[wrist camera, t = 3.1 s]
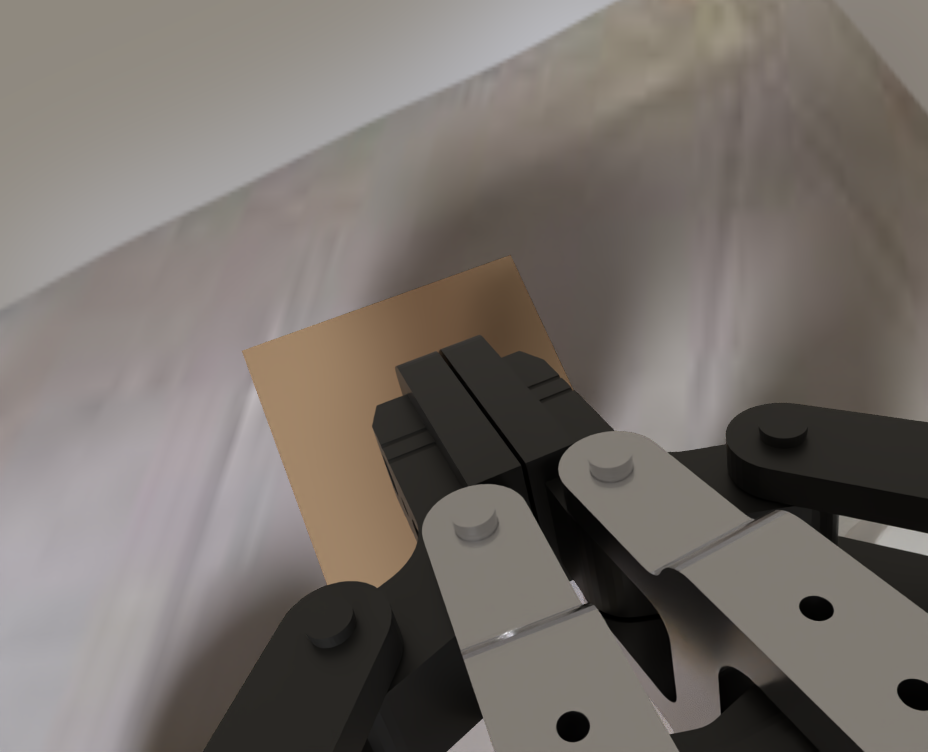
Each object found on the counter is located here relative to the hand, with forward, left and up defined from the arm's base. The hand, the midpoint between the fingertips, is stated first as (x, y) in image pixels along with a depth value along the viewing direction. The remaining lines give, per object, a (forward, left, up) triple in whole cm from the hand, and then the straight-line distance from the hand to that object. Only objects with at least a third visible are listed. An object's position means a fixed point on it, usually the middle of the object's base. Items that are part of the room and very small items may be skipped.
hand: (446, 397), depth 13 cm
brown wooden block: (0, 0, -12) cm, 12 cm away
